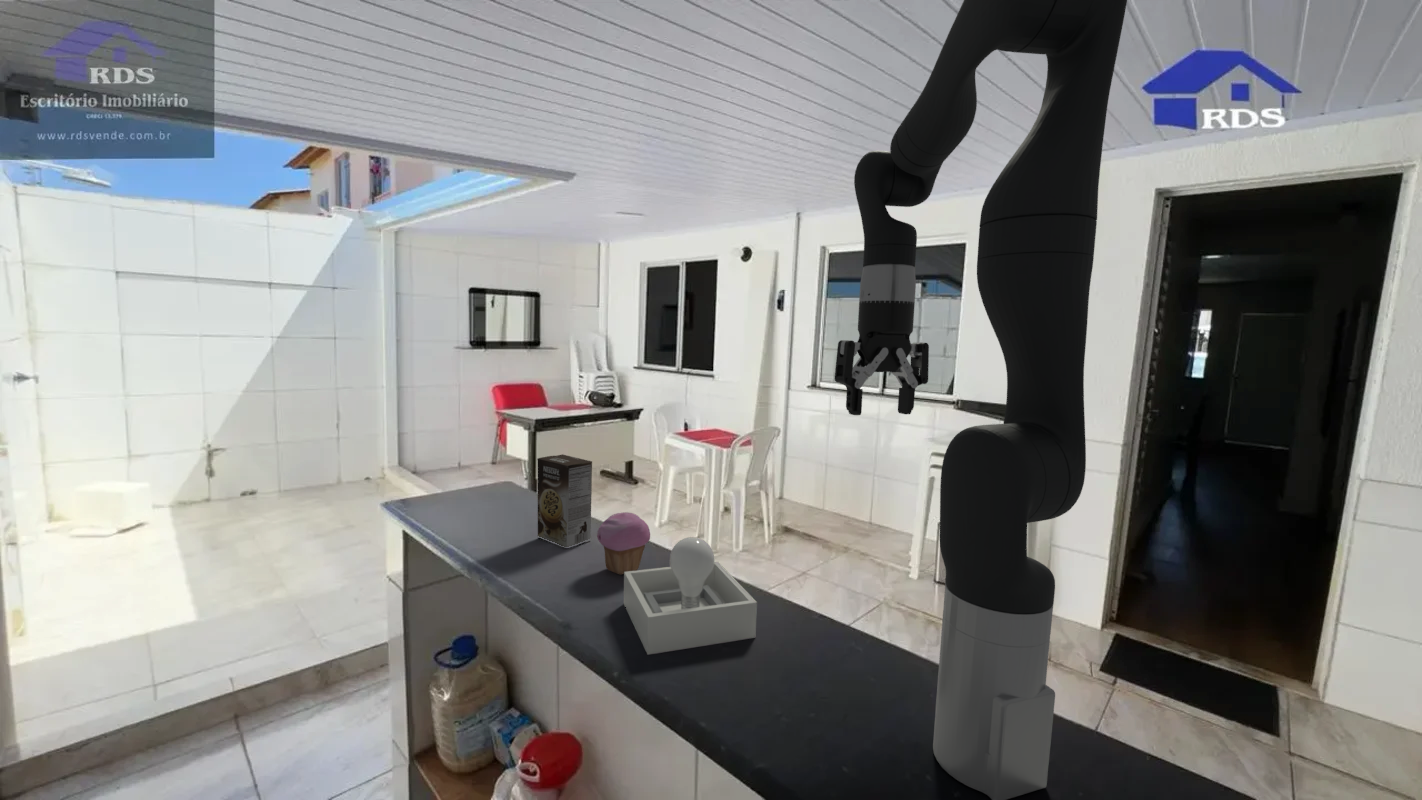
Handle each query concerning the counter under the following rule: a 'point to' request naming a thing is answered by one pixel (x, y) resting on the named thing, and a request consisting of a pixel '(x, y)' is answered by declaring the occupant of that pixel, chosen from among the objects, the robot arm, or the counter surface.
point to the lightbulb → (691, 568)
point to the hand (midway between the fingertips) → (880, 414)
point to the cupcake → (623, 541)
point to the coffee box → (564, 499)
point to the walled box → (687, 610)
